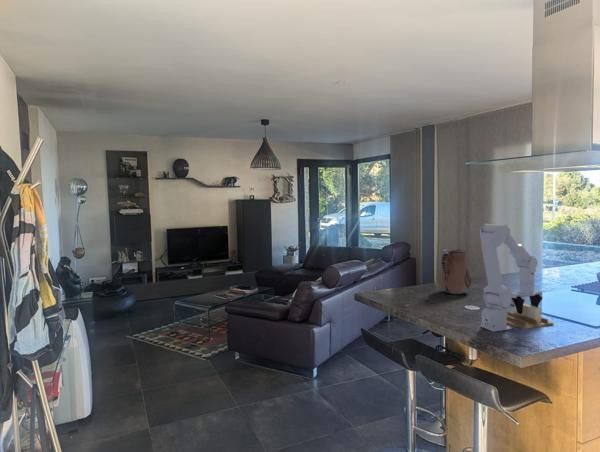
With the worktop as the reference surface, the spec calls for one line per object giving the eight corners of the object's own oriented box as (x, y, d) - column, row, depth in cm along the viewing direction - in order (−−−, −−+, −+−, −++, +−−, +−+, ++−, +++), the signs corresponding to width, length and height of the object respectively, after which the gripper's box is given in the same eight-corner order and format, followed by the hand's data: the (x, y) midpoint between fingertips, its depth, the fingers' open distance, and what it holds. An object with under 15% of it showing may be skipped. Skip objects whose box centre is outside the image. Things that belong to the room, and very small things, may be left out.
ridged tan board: (522, 329, 175) (522, 323, 175) (492, 318, 193) (492, 312, 192) (553, 325, 179) (553, 319, 179) (521, 314, 197) (521, 309, 196)
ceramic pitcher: (475, 291, 247) (475, 249, 245) (462, 298, 231) (461, 253, 230) (446, 288, 258) (445, 247, 257) (431, 294, 243) (431, 251, 241)
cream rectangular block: (535, 322, 180) (535, 308, 180) (514, 315, 192) (514, 302, 191) (541, 322, 181) (541, 308, 181) (519, 315, 192) (519, 302, 192)
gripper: (520, 285, 180) (520, 316, 181) (547, 282, 184) (547, 313, 184) (507, 282, 187) (508, 312, 187) (534, 279, 190) (534, 309, 191)
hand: (526, 312), depth 186 cm, fingers open, 7 cm apart
